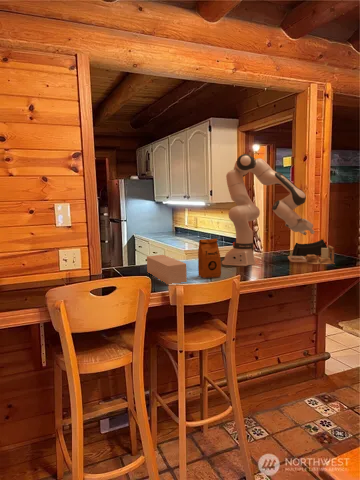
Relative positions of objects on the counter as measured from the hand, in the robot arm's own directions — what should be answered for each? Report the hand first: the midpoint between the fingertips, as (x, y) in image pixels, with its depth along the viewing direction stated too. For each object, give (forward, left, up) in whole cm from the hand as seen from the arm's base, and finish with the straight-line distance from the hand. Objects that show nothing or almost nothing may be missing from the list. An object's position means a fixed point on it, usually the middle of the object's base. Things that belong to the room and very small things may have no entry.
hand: (309, 233), depth 212 cm
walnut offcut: (+1, -1, -18) cm, 19 cm away
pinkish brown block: (-87, -44, -20) cm, 99 cm away
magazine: (+6, +28, -20) cm, 35 cm away
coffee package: (-62, -40, -20) cm, 76 cm away
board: (+9, -1, -18) cm, 21 cm away
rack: (+6, -1, -20) cm, 21 cm away
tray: (-7, +5, -20) cm, 21 cm away
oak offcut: (+1, -1, -16) cm, 16 cm away
